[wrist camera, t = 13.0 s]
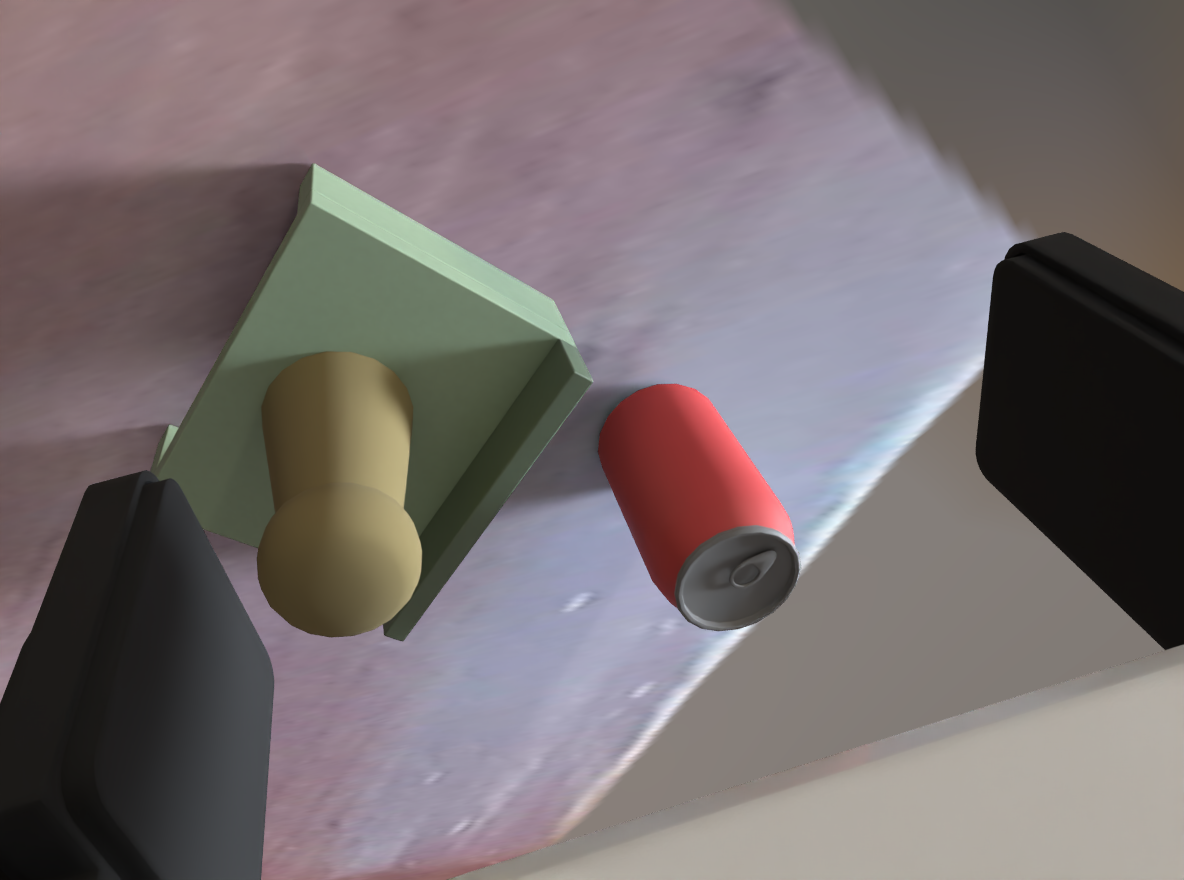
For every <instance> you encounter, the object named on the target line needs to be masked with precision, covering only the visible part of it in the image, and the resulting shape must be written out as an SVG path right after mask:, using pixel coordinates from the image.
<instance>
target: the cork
mask: <svg viewBox="0 0 1184 880" xmlns="http://www.w3.org/2000/svg"><path fill="white" fill-rule="evenodd" d="M261 411H262V428H263V435H264V442H265V448H266V455H267V462H268V469H269V475H270V482H271V489H272V495H273V502H274V509H275V514H274V515H273V516H272V518H271V519H270V521H269V523H268V524H267V526H266V528H265V531H264V533H263V536H262V539H261V541H260V544H259V547H258V554H257V569H258V580H259V583H260V587H261V590H262V592H263V593H264V595H265V597H266V599H267V601H268V603H269V605H270V607H271V608H272V609H274V610H275V611H276V612H277V613H278V614H279V615H280V616H281V617H283V618H284V619H285V620H286V621H287V622H288V623H289V624H290V625H292V626H294V627H296V628H298V629H300V630H303V631H305V632H307V633H309V634H314V635H320V636H326V637H344V636H354V635H358V634H361V633H364V632H368V631H371V630H374V629H376V628H377V627H379V626H381V625H383V624H384V623H386V622H388V621H389V620H391V619H392V618H393V617H394V616H395V615H396V614H397V613H398V612H399V611H400V610H401V609H402V608H403V607H404V605H405V604H406V603H407V602H408V601H409V600H410V599H411V597H412V594H413V592H414V590H415V588H416V586H417V584H418V582H419V578H420V574H421V564H422V548H421V542H420V539H419V536H418V533H417V531H416V528H415V525H414V523H413V521H412V519H411V518H410V516H409V515H408V513H407V512H406V511H405V510H404V500H405V491H406V482H407V473H408V464H409V455H410V445H411V436H412V427H413V405H412V402H411V399H410V396H409V393H408V390H407V388H406V386H405V385H404V384H403V383H402V381H401V380H400V379H399V378H398V376H397V375H396V374H395V372H394V371H392V370H391V369H389V368H388V367H386V366H385V365H383V364H382V363H380V362H379V361H377V360H375V359H373V358H370V357H367V356H363V355H360V354H357V353H353V352H333V351H326V352H322V353H318V354H314V355H311V356H307V357H303V358H301V359H299V360H298V361H296V362H295V363H293V364H291V365H290V366H288V367H286V368H285V369H283V370H282V371H281V372H280V373H279V375H278V376H277V377H276V378H275V379H274V381H273V382H272V383H271V384H270V385H269V387H268V389H267V392H266V395H265V397H264V400H263V403H262V406H261Z"/></svg>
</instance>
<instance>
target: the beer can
mask: <svg viewBox="0 0 1184 880" xmlns="http://www.w3.org/2000/svg"><path fill="white" fill-rule="evenodd" d="M598 454H599V457H600V461H601V465H602V468H603V470H604V473H605V475H606V477H607V479H608V482H609V484H610V486H611V488H612V491H613V493H614V495H615V497H616V500H617V502H618V504H619V506H620V509H621V511H622V513H623V516H624V518H625V520H626V522H627V525H628V527H629V529H630V531H631V534H632V536H633V538H634V540H635V543H636V545H637V547H638V549H639V552H640V554H641V556H642V559H643V561H644V563H645V565H646V568H647V570H648V572H649V574H650V577H651V579H652V581H653V582H654V584H655V585H656V586H657V587H658V589H659V590H660V591H661V592H662V594H663V595H664V596H665V597H666V598H667V600H668V601H669V602H670V603H671V604H672V605H674V606H675V607H676V608H678V610H679V611H680V612H681V614H682V615H683V616H684V617H685V619H686V620H687V621H688V622H690V623H692V624H694V625H696V626H697V627H699V628H701V629H707V630H714V631H725V630H735V629H740V628H743V627H746V626H749V625H752V624H754V623H757V622H759V621H760V620H762V619H763V618H765V617H767V616H768V615H770V614H772V613H773V612H774V611H775V610H776V609H777V608H778V607H779V606H781V605H782V604H783V603H784V602H785V601H786V599H787V598H788V597H789V595H790V594H791V592H792V590H793V589H794V587H795V586H796V584H797V581H798V577H799V574H800V570H801V563H800V554H799V552H798V550H797V548H796V547H795V544H794V535H793V528H792V525H791V521H790V518H789V516H788V514H787V513H786V511H785V509H784V508H783V506H782V505H781V503H780V501H779V500H778V498H777V497H776V496H775V494H774V493H773V491H772V490H771V488H770V487H769V485H768V484H767V483H766V481H765V480H764V478H763V477H762V475H761V474H760V472H759V471H758V470H757V468H756V467H755V465H754V464H753V462H752V461H751V459H750V458H749V457H748V455H747V454H746V452H745V451H744V449H743V448H742V446H741V445H740V444H739V442H738V441H737V439H736V438H735V436H734V435H733V433H732V432H731V431H730V429H729V428H728V426H727V425H726V423H725V422H724V420H723V419H722V417H721V416H720V415H719V413H718V412H717V410H716V409H715V407H714V406H713V404H712V403H711V402H710V400H709V399H708V398H707V397H705V396H704V395H703V394H701V393H700V392H698V391H697V390H696V389H693V388H689V387H686V386H682V385H679V384H657V385H654V386H651V387H648V388H644V389H641V390H638V391H637V392H635V393H633V394H632V395H630V396H629V397H627V398H626V399H624V400H623V401H621V402H620V403H619V404H618V406H617V407H616V408H615V409H614V410H613V411H612V412H611V413H610V414H609V416H608V417H607V420H606V422H605V424H604V426H603V428H602V430H601V432H600V437H599V446H598Z"/></svg>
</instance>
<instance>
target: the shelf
mask: <svg viewBox="0 0 1184 880" xmlns="http://www.w3.org/2000/svg"><path fill="white" fill-rule="evenodd" d="M326 351H333V352H353V353H357V354H360V355H363V356H367V357H370V358H373V359H375V360H377V361H379V362H380V363H382V364H383V365H385V366H386V367H388V368H389V369H391V370H392V371H394V372H395V374H396V375H397V376H398V378H399V379H400V380H401V381H402V383H403V384H404V385H405V386H406V388H407V390H408V393H409V396H410V399H411V402H412V405H413V427H412V436H411V445H410V455H409V464H408V473H407V482H406V491H405V500H404V510H405V511H406V512H407V513H408V515H409V516H410V518H411V519H412V521H413V523H414V525H415V528H416V531H417V533H418V536H419V539H420V542H421V548H422V564H421V574H420V578H419V582H418V584H417V586H416V588H415V590H414V592H413V594H412V597H411V599H410V600H409V601H408V602H407V603H406V604H405V605H404V607H403V608H402V609H401V610H400V611H399V612H398V613H397V614H396V615H395V616H394V617H393V618H392V619H391V620H389V621H388V622H386V623H384V624H383V629H384V635H385V636H387V637H390V638H393V639H396V640H399V641H404V640H405V638H406V637H407V635H408V634H409V633H410V631H411V630H412V629H413V627H414V626H415V625H416V623H417V622H418V620H419V619H420V618H421V616H422V615H423V614H424V612H425V611H426V610H427V608H428V607H429V605H430V604H431V603H432V601H433V600H434V599H435V597H436V596H437V594H438V593H439V592H440V590H441V589H442V588H443V586H444V585H445V584H446V582H447V581H448V579H449V578H450V577H451V575H452V574H453V573H454V571H455V570H456V569H457V567H458V566H459V564H460V563H461V562H462V560H463V559H464V558H465V556H466V555H467V554H468V552H469V551H470V549H471V548H472V547H473V545H474V544H475V543H476V541H477V540H478V539H479V537H480V536H481V534H482V533H483V532H484V530H485V529H486V528H487V526H488V525H489V523H490V522H491V521H492V519H493V518H494V517H495V515H496V514H497V513H498V511H499V510H500V508H501V507H502V506H503V504H504V503H505V502H506V500H507V499H508V498H509V496H510V495H511V493H512V492H513V491H514V489H515V488H516V487H517V485H518V484H519V483H520V481H521V480H522V478H523V477H524V476H525V474H526V473H527V472H528V470H529V469H530V468H531V466H532V465H533V463H534V462H535V461H536V459H537V458H538V457H539V455H540V454H541V452H542V451H543V450H544V448H545V447H546V446H547V444H548V443H549V442H550V440H551V439H552V437H553V436H554V435H555V433H556V432H557V431H558V429H559V428H560V427H561V425H562V424H563V422H564V421H565V420H566V418H567V417H568V416H569V414H570V413H571V412H572V410H573V409H574V407H575V406H576V405H577V403H578V402H579V401H580V399H581V398H582V397H583V395H584V394H585V392H586V391H587V390H588V388H589V387H590V386H591V384H592V383H593V379H592V377H591V375H590V373H589V371H588V369H587V367H586V365H585V363H584V361H583V359H582V357H581V355H580V353H579V351H578V349H577V348H576V345H575V343H574V341H573V339H572V337H571V335H570V333H569V331H568V329H567V327H566V325H565V323H564V321H563V319H562V317H561V315H560V313H559V311H558V309H557V307H556V305H555V303H554V301H553V300H552V299H550V298H549V297H547V296H545V295H543V294H542V293H540V292H538V291H536V290H535V289H533V288H531V287H529V286H528V285H526V284H524V283H522V282H521V281H519V280H517V279H515V278H514V277H512V276H510V275H508V274H507V273H505V272H503V271H501V270H500V269H498V268H496V267H494V266H493V265H491V264H489V263H487V262H486V261H484V260H482V259H480V258H479V257H477V256H475V255H473V254H472V253H470V252H468V251H466V250H465V249H463V248H461V247H459V246H458V245H456V244H454V243H452V242H451V241H449V240H447V239H445V238H444V237H442V236H440V235H438V234H437V233H435V232H433V231H431V230H430V229H428V228H426V227H424V226H423V225H421V224H419V223H417V222H416V221H414V220H412V219H410V218H409V217H407V216H405V215H403V214H402V213H400V212H398V211H396V210H395V209H393V208H391V207H389V206H388V205H386V204H384V203H382V202H381V201H379V200H377V199H375V198H374V197H372V196H370V195H368V194H367V193H365V192H363V191H361V190H360V189H358V188H356V187H354V186H353V185H351V184H349V183H347V182H346V181H344V180H342V179H340V178H339V177H337V176H335V175H333V174H332V173H330V172H328V171H326V170H325V169H323V168H321V167H319V166H318V165H316V164H312V165H311V167H310V169H309V171H308V172H307V174H306V176H305V178H304V180H303V181H302V183H301V185H300V189H299V200H298V211H297V216H296V217H295V219H294V221H293V223H292V225H291V226H290V228H289V230H288V232H287V234H286V235H285V237H284V239H283V241H282V243H281V244H280V246H279V248H278V250H277V252H276V253H275V255H274V257H273V259H272V261H271V263H270V264H269V266H268V268H267V270H266V272H265V273H264V275H263V277H262V279H261V281H260V282H259V284H258V286H257V288H256V290H255V291H254V293H253V295H252V297H251V299H250V300H249V302H248V304H247V306H246V308H245V309H244V311H243V313H242V315H241V317H240V318H239V320H238V322H237V324H236V326H235V327H234V329H233V331H232V333H231V335H230V336H229V338H228V340H227V342H226V344H225V345H224V347H223V349H222V351H221V353H220V354H219V356H218V358H217V360H216V362H215V363H214V365H213V367H212V369H211V371H210V372H209V374H208V376H207V378H206V380H205V381H204V383H203V385H202V387H201V389H200V390H199V392H198V394H197V396H196V398H195V399H194V401H193V403H192V405H191V407H190V408H189V410H188V412H187V414H186V416H185V417H184V419H183V421H182V423H181V425H180V426H179V428H178V427H175V426H173V425H170V424H169V425H168V427H167V429H166V431H165V432H164V434H163V436H162V438H161V440H160V442H159V443H158V447H157V450H156V454H155V457H154V461H153V464H152V467H151V471H150V472H152V473H153V474H154V475H155V476H156V477H157V478H158V480H159V481H161V480H165V479H169V478H171V479H174V480H175V481H176V482H177V483H178V484H179V486H180V487H181V489H182V491H183V493H184V494H185V496H186V498H187V500H188V502H189V504H190V506H191V508H192V510H193V512H194V514H195V515H196V517H197V519H198V521H199V523H200V525H201V527H202V529H204V530H207V531H210V532H213V533H215V534H218V535H221V536H224V537H227V538H230V539H233V540H236V541H239V542H241V543H244V544H247V545H250V546H253V547H256V548H258V547H259V544H260V541H261V539H262V536H263V533H264V531H265V528H266V526H267V524H268V523H269V521H270V519H271V518H272V516H273V515H274V514H275V509H274V502H273V495H272V489H271V482H270V475H269V469H268V462H267V455H266V448H265V442H264V435H263V428H262V411H261V406H262V403H263V400H264V397H265V395H266V392H267V389H268V387H269V385H270V384H271V383H272V382H273V381H274V379H275V378H276V377H277V376H278V375H279V373H280V372H281V371H282V370H283V369H285V368H286V367H288V366H290V365H291V364H293V363H295V362H296V361H298V360H299V359H301V358H303V357H307V356H311V355H314V354H318V353H322V352H326Z"/></svg>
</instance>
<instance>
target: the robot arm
mask: <svg viewBox="0 0 1184 880" xmlns="http://www.w3.org/2000/svg"><path fill="white" fill-rule="evenodd" d="M976 458H977V462H978V465H979V468H980V470H981V472H982V473H983V475H984V476H985V478H986V479H987V480H988V481H989V482H990V483H991V484H992V485H993V486H994V487H995V488H996V489H997V490H998V491H999V492H1001V493H1002V494H1003V495H1004V496H1005V497H1006V498H1007V499H1008V500H1009V501H1010V502H1011V503H1012V504H1013V505H1014V506H1015V507H1016V508H1017V509H1018V510H1019V511H1020V512H1022V513H1023V514H1024V515H1025V516H1026V517H1027V518H1028V519H1029V520H1030V521H1031V522H1032V523H1033V524H1034V525H1035V526H1036V527H1037V528H1038V529H1039V530H1040V531H1041V532H1043V534H1044V535H1045V536H1047V537H1048V538H1049V539H1050V540H1051V541H1052V542H1053V543H1054V544H1055V545H1056V546H1057V547H1058V548H1059V549H1060V550H1061V551H1062V552H1063V553H1064V554H1065V555H1066V556H1067V557H1069V559H1071V560H1072V561H1073V562H1074V563H1075V564H1076V565H1077V566H1078V567H1079V568H1080V569H1081V570H1082V571H1083V572H1084V573H1086V575H1087V576H1088V577H1089V578H1090V579H1092V581H1094V582H1095V583H1096V584H1097V585H1098V586H1099V587H1100V588H1101V589H1102V590H1103V591H1104V592H1105V593H1106V594H1107V595H1108V596H1109V597H1110V598H1111V599H1112V600H1113V601H1114V602H1115V603H1117V604H1118V605H1119V606H1120V607H1121V608H1122V609H1123V610H1124V611H1125V612H1126V613H1127V614H1128V615H1129V616H1130V617H1131V618H1132V619H1133V620H1134V621H1135V622H1136V623H1137V624H1138V625H1140V626H1141V627H1142V628H1143V629H1144V630H1145V631H1146V632H1147V633H1148V634H1149V635H1150V636H1151V637H1152V638H1153V639H1154V640H1155V641H1156V642H1157V643H1158V644H1159V645H1160V646H1161V647H1163V648H1164V649H1165V650H1164V651H1161V652H1158V653H1155V654H1152V655H1148V656H1145V657H1142V658H1139V659H1136V660H1133V661H1129V662H1126V663H1123V664H1120V665H1116V666H1113V667H1110V668H1107V669H1104V670H1100V671H1097V672H1094V673H1091V674H1088V675H1085V676H1081V677H1078V678H1075V679H1072V680H1068V681H1065V682H1062V683H1059V684H1056V685H1053V686H1049V687H1046V688H1043V689H1040V690H1036V691H1034V692H1030V693H1027V694H1024V695H1021V696H1018V697H1014V698H1011V699H1008V700H1005V701H1002V702H999V703H995V704H992V705H989V706H986V707H983V708H980V709H977V710H973V711H970V712H967V713H964V714H961V715H957V716H954V717H951V718H948V719H945V720H942V721H939V722H936V723H932V724H929V725H926V726H923V727H920V728H917V729H913V730H910V731H907V732H904V733H901V734H898V735H894V736H891V737H888V738H885V739H882V740H879V741H876V742H872V743H869V744H866V745H863V746H860V747H857V748H854V749H851V750H847V751H845V752H841V753H838V754H835V755H832V756H829V757H825V758H822V759H819V760H816V761H813V762H810V763H807V764H804V765H800V766H797V767H794V768H791V769H788V770H785V771H782V772H778V773H775V774H772V775H769V776H766V777H763V778H760V779H757V780H753V781H750V782H747V783H744V784H741V785H738V786H735V787H731V788H728V789H725V790H722V791H719V792H716V793H713V794H710V795H707V796H703V797H700V798H698V799H694V800H691V801H688V802H685V803H682V804H679V805H676V806H673V807H670V808H666V809H664V810H660V811H657V812H654V813H651V814H648V815H645V816H642V817H639V818H636V819H632V820H630V821H627V822H623V823H621V824H617V825H614V826H611V827H608V828H605V829H602V830H599V831H595V832H593V833H590V834H586V835H584V836H580V837H577V838H574V839H571V840H568V841H565V842H562V843H558V844H555V845H552V846H549V847H546V848H543V849H540V850H537V851H534V852H531V853H528V854H525V855H521V856H518V857H515V858H512V859H509V860H506V861H503V862H500V863H497V864H494V865H491V866H487V867H484V868H481V869H478V870H475V871H472V872H469V873H466V874H463V875H460V876H457V877H454V878H450V879H447V880H1184V292H1183V291H1181V290H1179V289H1177V288H1175V287H1173V286H1171V285H1169V284H1167V283H1166V282H1164V281H1162V280H1160V279H1158V278H1156V277H1154V276H1152V275H1150V274H1148V273H1146V272H1144V271H1142V270H1140V269H1138V268H1136V267H1134V266H1133V265H1131V264H1128V263H1127V262H1125V261H1123V260H1121V259H1119V258H1117V257H1115V256H1113V255H1111V254H1109V253H1107V252H1105V251H1103V250H1101V249H1100V248H1097V247H1096V246H1094V245H1092V244H1090V243H1088V242H1086V241H1084V240H1082V239H1080V238H1078V237H1076V236H1074V235H1072V234H1069V233H1066V232H1062V233H1057V234H1053V235H1049V236H1045V237H1042V238H1038V239H1034V240H1030V241H1026V242H1022V243H1019V244H1015V245H1014V246H1012V247H1011V248H1010V249H1009V250H1008V252H1007V254H1006V256H1005V259H1004V260H1002V261H1001V262H1000V263H998V264H997V266H996V268H995V270H994V275H993V282H992V292H991V302H990V312H989V322H988V332H987V341H986V351H985V361H984V371H983V381H982V391H981V402H980V411H979V420H978V430H977V440H976ZM273 695H274V676H273V669H272V665H271V661H270V658H269V655H268V653H267V651H266V649H265V647H264V645H263V643H262V641H261V639H260V637H259V635H258V633H257V632H256V630H255V628H254V626H253V624H252V622H251V620H250V618H249V616H248V614H247V612H246V611H245V609H244V607H243V605H242V603H241V601H240V599H239V597H238V595H237V593H236V592H235V590H234V588H233V586H232V584H231V582H230V580H229V578H228V576H227V574H226V573H225V571H224V569H223V567H222V565H221V563H220V561H219V559H218V557H217V555H216V553H215V552H214V550H213V548H212V546H211V544H210V542H209V540H208V538H207V536H206V534H205V533H204V531H203V529H202V527H201V525H200V523H199V521H198V519H197V517H196V515H195V514H194V512H193V510H192V508H191V506H190V504H189V502H188V500H187V498H186V496H185V494H184V493H183V491H182V489H181V487H180V486H179V484H178V483H177V482H176V481H175V480H174V479H171V478H169V479H165V480H161V481H159V480H158V478H157V477H156V476H155V475H154V474H153V473H152V472H150V471H147V470H145V471H141V472H137V473H134V474H130V475H126V476H122V477H118V478H114V479H110V480H107V481H103V482H99V483H95V484H92V485H89V486H88V488H87V489H86V491H85V493H84V496H83V498H82V501H81V503H80V506H79V509H78V511H77V514H76V516H75V519H74V522H73V524H72V527H71V529H70V532H69V535H68V537H67V540H66V542H65V545H64V548H63V550H62V553H61V555H60V558H59V561H58V563H57V566H56V568H55V571H54V574H53V576H52V579H51V581H50V584H49V587H48V589H47V592H46V594H45V597H44V600H43V602H42V605H41V607H40V610H39V613H38V615H37V618H36V620H35V623H34V626H33V628H32V631H31V633H30V634H29V636H28V638H27V639H26V641H25V643H24V645H23V646H22V649H21V651H20V654H19V657H18V659H17V662H16V664H15V667H14V670H13V672H12V675H11V677H10V680H9V682H8V685H7V688H6V690H5V693H4V695H3V698H2V700H1V703H0V880H261V871H262V856H263V842H264V827H265V812H266V798H267V783H268V768H269V754H270V739H271V724H272V709H273Z"/></svg>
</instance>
